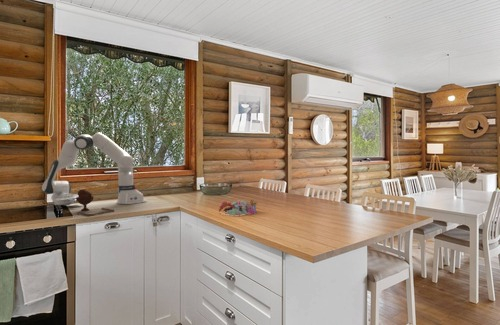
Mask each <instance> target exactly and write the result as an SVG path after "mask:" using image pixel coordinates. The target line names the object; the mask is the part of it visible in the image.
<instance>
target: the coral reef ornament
mask: <svg viewBox="0 0 500 325" xmlns="http://www.w3.org/2000/svg"><path fill="white" fill-rule="evenodd" d="M257 204H258V202H257V201H255V202H254V199H250V200H249V202H248V201H245V200H243V199H238V200H237V201H233V202H232V203H231V202H227V201H226V200H225V201H222V202H221V205H220V206H219V209H218V212H220V211H225V212H227V213H225V214H229V215H242V214H252V215H254V214H257ZM253 213H254V214H253Z"/></svg>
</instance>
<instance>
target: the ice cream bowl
mask: <svg viewBox="0 0 500 325" xmlns="http://www.w3.org/2000/svg"><path fill="white" fill-rule="evenodd" d="M77 194H78V196H79V197H76V200H77V202H76V203H79V204H80V205H83V208H81V209H80V212H89V211H90V208H87V205H88V204H91V203H92V201H93V200H94V196H93V195H92V193H91V192H90V191H88V190H86V189H80V190H78V192H77Z"/></svg>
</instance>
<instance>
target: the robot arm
mask: <svg viewBox="0 0 500 325" xmlns="http://www.w3.org/2000/svg"><path fill="white" fill-rule="evenodd" d="M93 146H94V147H96V148H97V149H98V150H100V151H101V153H103V154H105V155H106V156H107V157H108V158H109V159H110V160H112V161H113V162H115V164H117V174H118V176H117V177H118V185H117V192H118V197H117V200H116V204H119V205H132V204H140V203H146V202H147V199H146V198H145V197H144V194H143V193H142V192H140V190H137V188H138V185H135V184H134V171H133V170H134V167H133V165H134V158H133V156H131V155H130V154H129V153H127V152H126V151H125V150H124V149H123V148H122V147H120V146H119V145H118V144H117V143H115V142H114V141H113V140H112V139H110V138H109V136H107V135H105V134H103V133H101V132H96V133H94V134H93V135H91V134H89V133H83V134H79V135H78V136H77V137H76V138H75V139H74V140H72V139H71V140H69V139H68V140H65V142H63V145H62V148H61V150H60V153H59V156H58V157H57V159H56V160H53V162H52V164H51V166H50V168H49V171H48V172H47V175H46V177H45V180H44V182H43V183H42V185H41V190H42V192H43V193H44V194H45V195H51V197H50V198H51V201H52V203H55V205H56V206H61V205H62V206H70V205H72V204H76V203H78V202H77V200H76V197H79V196H78V193H71V191H72V185H71V183H70V181H67V180H55V178H56V176H57V174H58V172H60V170H62V169H65V168H69V167H71V166H73V165H74V164H76V162H77V160H78V159H77V158H78V155H79V151H83V150H84V151H85V150H87V149H89V148H91V147H93Z"/></svg>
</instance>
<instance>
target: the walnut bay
mask: <svg viewBox="0 0 500 325" xmlns="http://www.w3.org/2000/svg"><path fill="white" fill-rule="evenodd" d="M101 210H102V211H98V212H93V213H85V212H83V211H77V212H76V213H77V215H80V214H81V216H85V217H93V216H97V215H102V214H108V213H113V212H115V209H112V208H108V207H101Z"/></svg>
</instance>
